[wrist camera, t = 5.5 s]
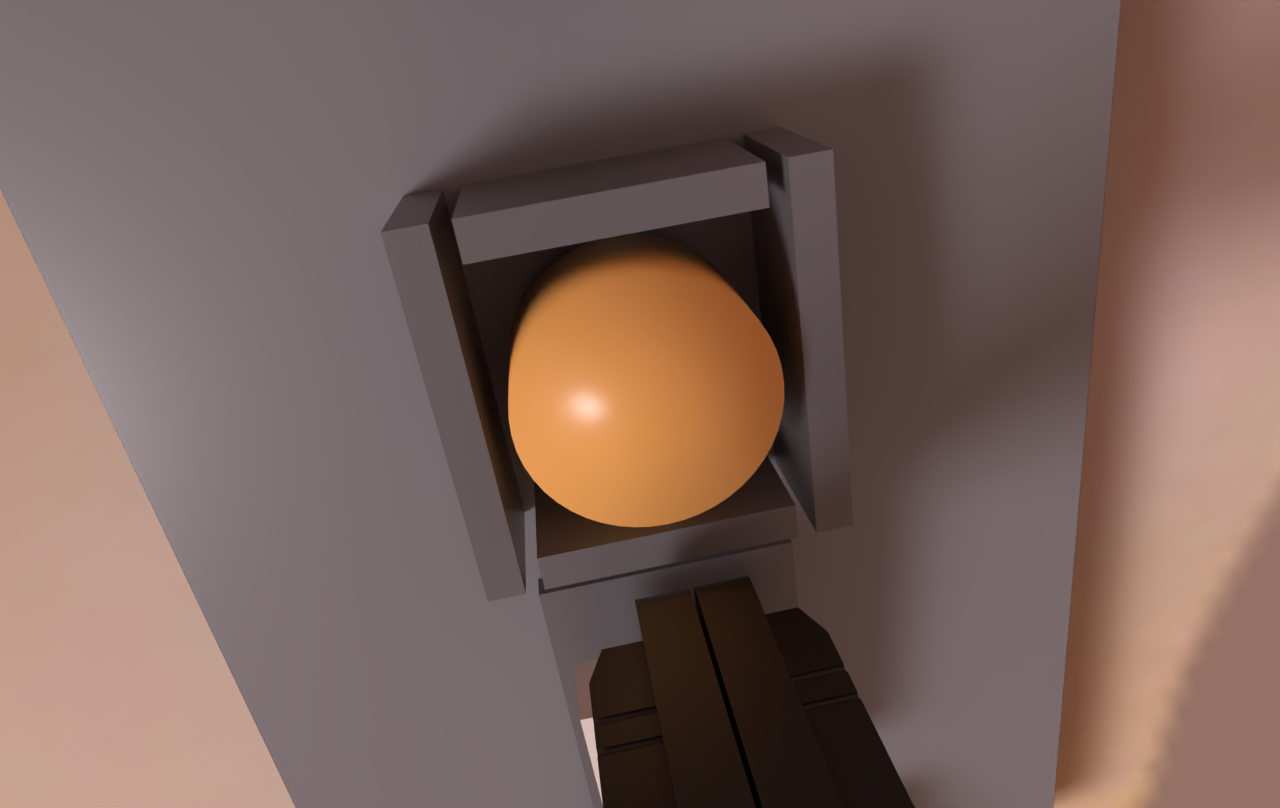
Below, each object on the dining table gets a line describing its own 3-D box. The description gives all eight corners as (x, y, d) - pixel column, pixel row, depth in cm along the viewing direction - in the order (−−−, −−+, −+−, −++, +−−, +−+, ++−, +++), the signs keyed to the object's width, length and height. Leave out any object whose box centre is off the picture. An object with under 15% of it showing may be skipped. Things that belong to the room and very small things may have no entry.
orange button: (484, 259, 11) (478, 303, 9) (733, 213, 11) (772, 248, 9) (537, 478, 12) (539, 550, 10) (756, 433, 12) (794, 498, 11)
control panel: (-154, -484, 10) (-739, -922, 5) (1017, -642, 10) (1399, -1142, 6) (442, 957, 21) (423, 1209, 17) (977, 833, 22) (1095, 1043, 18)
